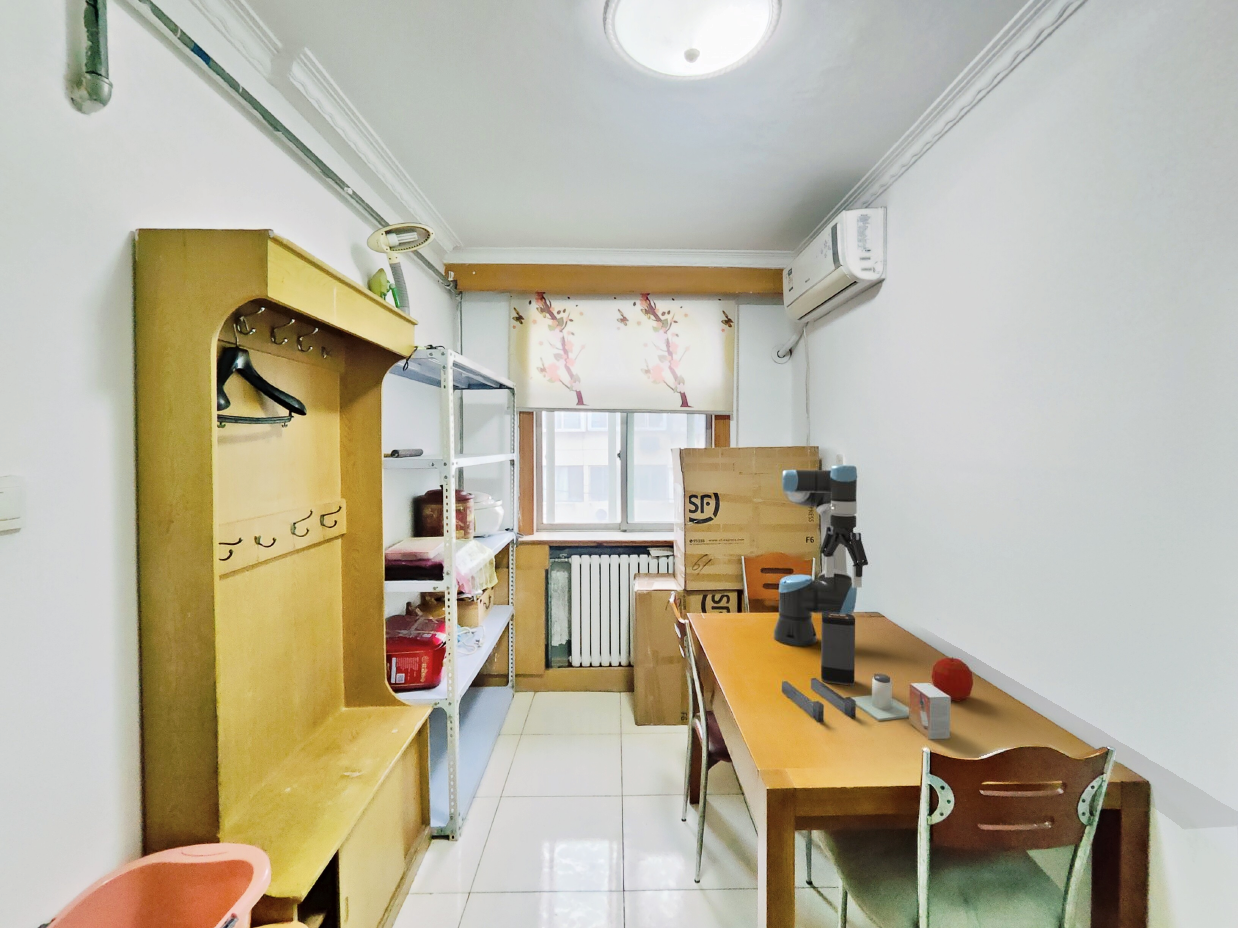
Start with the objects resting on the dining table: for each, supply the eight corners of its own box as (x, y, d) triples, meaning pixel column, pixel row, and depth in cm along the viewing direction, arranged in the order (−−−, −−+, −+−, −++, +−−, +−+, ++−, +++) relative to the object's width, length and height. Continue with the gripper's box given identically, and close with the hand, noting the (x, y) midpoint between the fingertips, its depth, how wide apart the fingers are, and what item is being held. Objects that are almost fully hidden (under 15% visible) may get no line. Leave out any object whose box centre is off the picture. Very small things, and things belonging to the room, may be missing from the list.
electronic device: (853, 678, 165) (854, 613, 164) (854, 686, 159) (855, 619, 159) (820, 674, 168) (821, 610, 167) (821, 682, 162) (822, 616, 162)
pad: (848, 699, 151) (848, 697, 151) (885, 695, 153) (885, 693, 153) (878, 720, 139) (878, 718, 139) (917, 715, 142) (917, 713, 142)
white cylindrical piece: (868, 702, 148) (868, 673, 148) (883, 700, 149) (883, 672, 149) (879, 710, 143) (880, 681, 143) (895, 709, 144) (896, 679, 144)
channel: (781, 691, 156) (781, 676, 156) (815, 687, 158) (815, 672, 158) (818, 722, 138) (818, 705, 138) (855, 717, 141) (855, 700, 141)
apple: (952, 687, 159) (953, 648, 158) (982, 702, 149) (983, 661, 148) (923, 690, 156) (923, 651, 156) (951, 706, 147) (952, 665, 146)
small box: (908, 723, 138) (908, 682, 138) (928, 722, 138) (929, 681, 138) (928, 739, 130) (929, 697, 130) (950, 738, 130) (951, 696, 130)
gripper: (809, 510, 179) (809, 573, 180) (859, 519, 155) (858, 592, 156) (829, 509, 181) (828, 572, 182) (881, 519, 157) (880, 591, 157)
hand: (842, 581), depth 169 cm, fingers open, 13 cm apart
